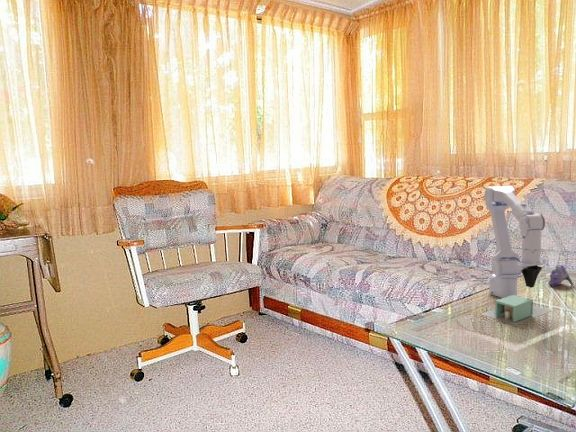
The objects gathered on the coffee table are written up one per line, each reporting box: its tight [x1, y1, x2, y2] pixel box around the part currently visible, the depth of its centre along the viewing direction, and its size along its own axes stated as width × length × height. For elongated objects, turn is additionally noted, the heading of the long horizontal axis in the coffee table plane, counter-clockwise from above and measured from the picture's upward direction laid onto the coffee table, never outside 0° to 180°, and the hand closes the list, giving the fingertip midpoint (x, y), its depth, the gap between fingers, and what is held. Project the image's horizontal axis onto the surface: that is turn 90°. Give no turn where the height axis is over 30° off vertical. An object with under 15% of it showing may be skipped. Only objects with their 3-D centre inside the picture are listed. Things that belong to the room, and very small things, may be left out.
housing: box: [494, 295, 534, 322], centre depth 160 cm, size 7×10×5 cm
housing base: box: [480, 305, 552, 326], centre depth 163 cm, size 13×22×4 cm, turn 121°
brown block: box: [504, 305, 513, 319], centre depth 160 cm, size 4×4×5 cm
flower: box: [547, 264, 574, 287], centre depth 195 cm, size 9×9×10 cm
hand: (530, 286), depth 164 cm, fingers closed
